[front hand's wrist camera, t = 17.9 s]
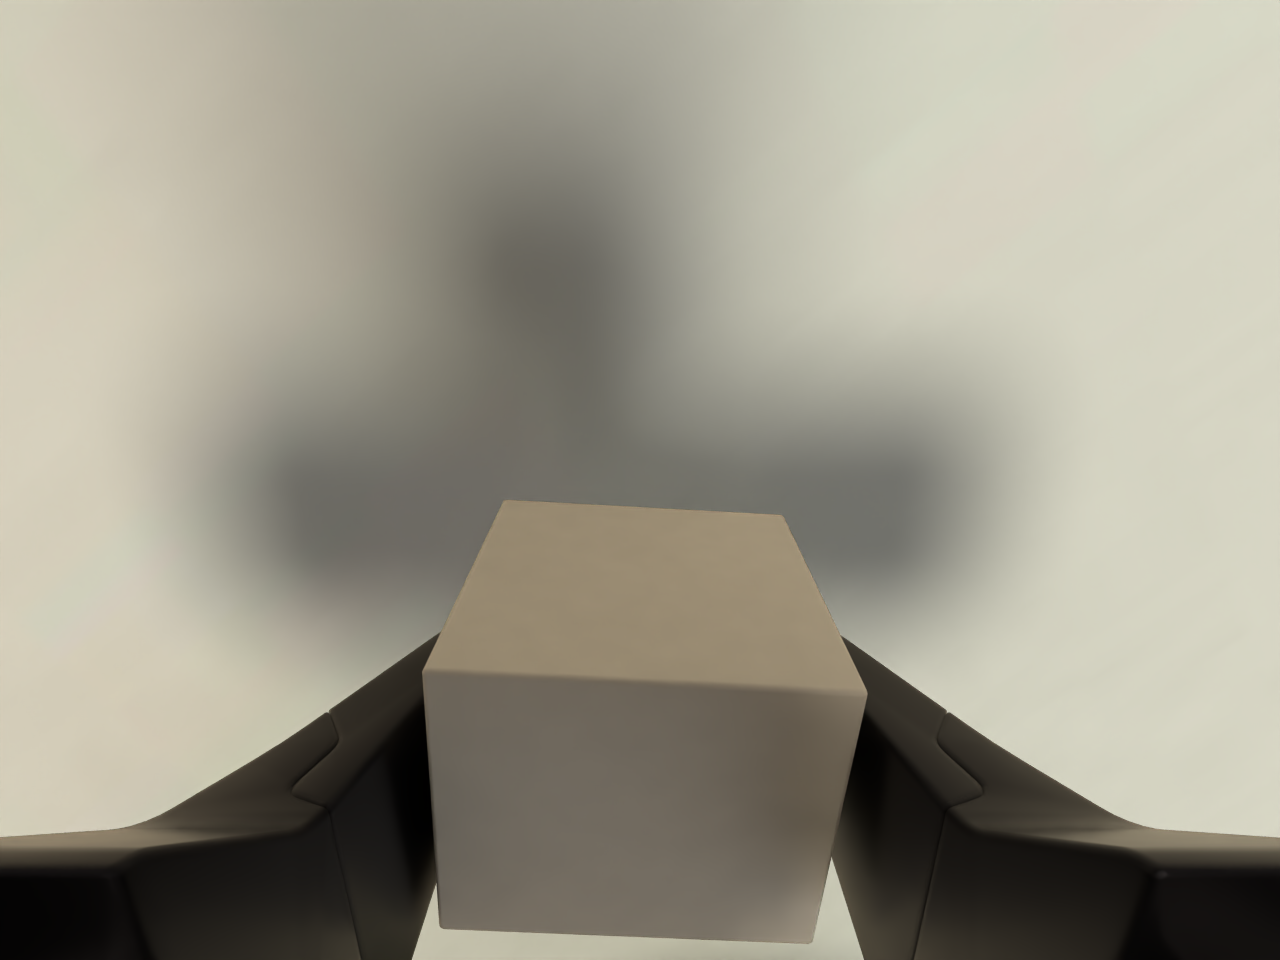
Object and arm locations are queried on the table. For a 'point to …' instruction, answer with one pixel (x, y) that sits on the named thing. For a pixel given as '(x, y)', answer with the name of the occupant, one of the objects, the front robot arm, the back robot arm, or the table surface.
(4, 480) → the table surface
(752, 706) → the beige cube block
